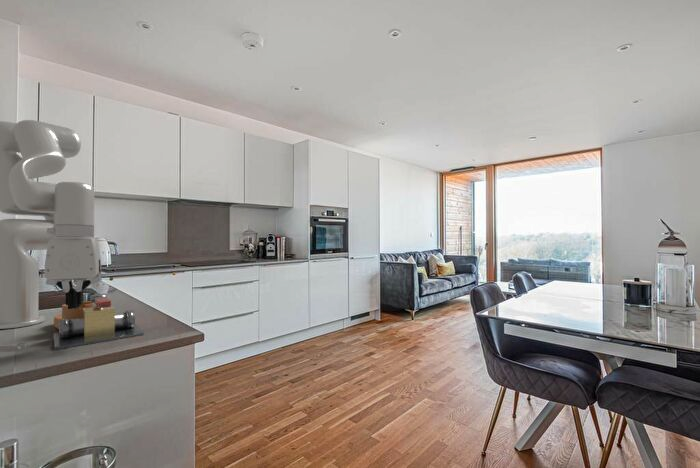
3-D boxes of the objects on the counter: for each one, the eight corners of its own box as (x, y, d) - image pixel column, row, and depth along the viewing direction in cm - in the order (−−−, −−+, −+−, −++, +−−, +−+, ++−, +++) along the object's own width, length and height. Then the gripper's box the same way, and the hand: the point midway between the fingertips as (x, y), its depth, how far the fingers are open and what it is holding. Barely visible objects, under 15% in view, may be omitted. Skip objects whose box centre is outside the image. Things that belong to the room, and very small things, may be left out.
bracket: (103, 327, 94) (103, 302, 95) (65, 333, 88) (66, 307, 88) (85, 319, 106) (85, 297, 106) (51, 324, 99) (51, 301, 99)
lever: (89, 300, 90) (89, 294, 90) (106, 298, 92) (106, 293, 92) (95, 308, 80) (95, 302, 80) (113, 306, 82) (113, 300, 82)
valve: (53, 335, 88) (53, 301, 88) (132, 323, 101) (133, 294, 101) (54, 349, 77) (55, 311, 77) (143, 334, 90) (144, 301, 90)
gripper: (27, 232, 75) (26, 313, 75) (107, 232, 81) (106, 308, 81) (43, 233, 82) (42, 307, 82) (115, 233, 88) (115, 302, 88)
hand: (74, 307), depth 81 cm, fingers closed
